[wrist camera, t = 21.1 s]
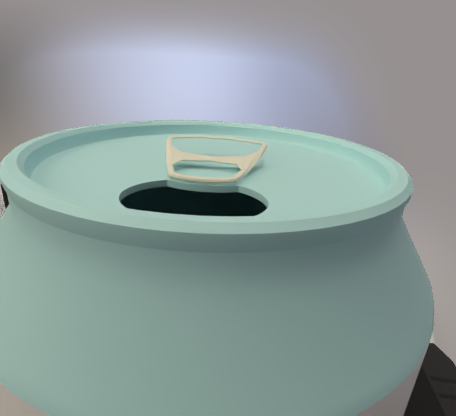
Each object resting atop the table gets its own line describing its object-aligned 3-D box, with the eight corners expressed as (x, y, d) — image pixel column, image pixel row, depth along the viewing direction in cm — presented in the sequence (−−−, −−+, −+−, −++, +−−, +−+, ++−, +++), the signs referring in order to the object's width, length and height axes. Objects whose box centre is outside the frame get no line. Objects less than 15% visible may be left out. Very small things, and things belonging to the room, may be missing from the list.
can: (378, 614, 9) (584, 181, 4) (103, 944, 5) (-313, 509, 1) (235, 402, 14) (260, 110, 10) (51, 499, 11) (-43, 117, 6)
